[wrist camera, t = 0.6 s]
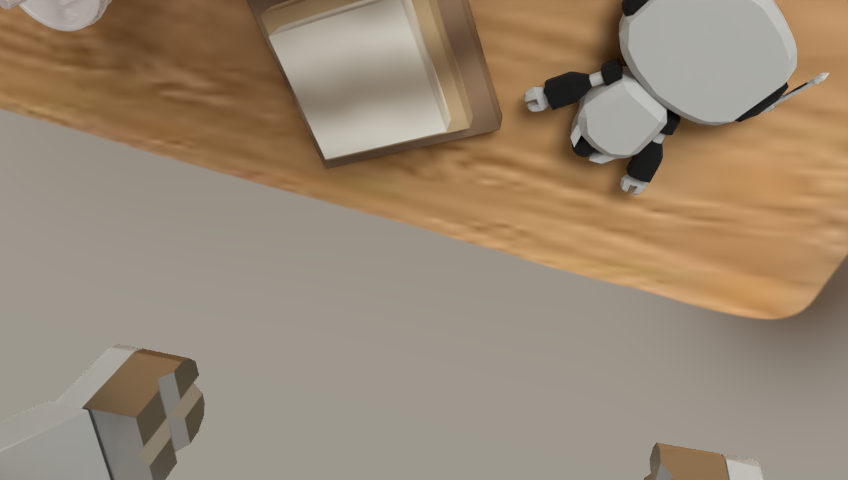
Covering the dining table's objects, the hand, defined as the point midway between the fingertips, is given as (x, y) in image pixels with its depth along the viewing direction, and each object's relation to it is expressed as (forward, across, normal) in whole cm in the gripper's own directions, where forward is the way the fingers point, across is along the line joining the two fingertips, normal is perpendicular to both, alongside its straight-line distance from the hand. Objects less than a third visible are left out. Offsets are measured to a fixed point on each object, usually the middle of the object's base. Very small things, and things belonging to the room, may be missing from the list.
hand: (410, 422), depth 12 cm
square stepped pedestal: (+38, +11, +4) cm, 40 cm away
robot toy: (+39, -8, +4) cm, 40 cm away
